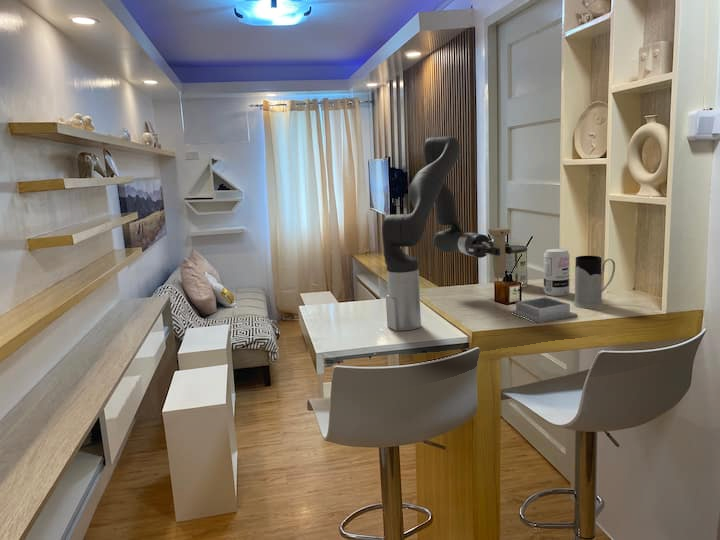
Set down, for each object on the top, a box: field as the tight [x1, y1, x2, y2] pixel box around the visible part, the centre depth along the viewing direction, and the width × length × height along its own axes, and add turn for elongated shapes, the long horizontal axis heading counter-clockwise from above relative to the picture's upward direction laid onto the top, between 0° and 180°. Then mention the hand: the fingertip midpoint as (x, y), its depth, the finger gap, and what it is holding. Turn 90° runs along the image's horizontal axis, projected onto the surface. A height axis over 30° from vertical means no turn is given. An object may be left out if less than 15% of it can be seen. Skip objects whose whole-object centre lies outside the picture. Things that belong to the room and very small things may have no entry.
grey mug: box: [572, 255, 616, 309], centre depth 188 cm, size 9×14×15 cm, turn 108°
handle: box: [487, 227, 511, 279], centre depth 184 cm, size 5×6×15 cm
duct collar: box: [508, 296, 578, 325], centre depth 180 cm, size 14×14×4 cm
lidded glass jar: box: [498, 244, 529, 289], centre depth 219 cm, size 10×10×14 cm
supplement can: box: [543, 248, 571, 297], centre depth 203 cm, size 8×8×15 cm
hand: (504, 251), depth 181 cm, fingers closed on handle, 3 cm apart
